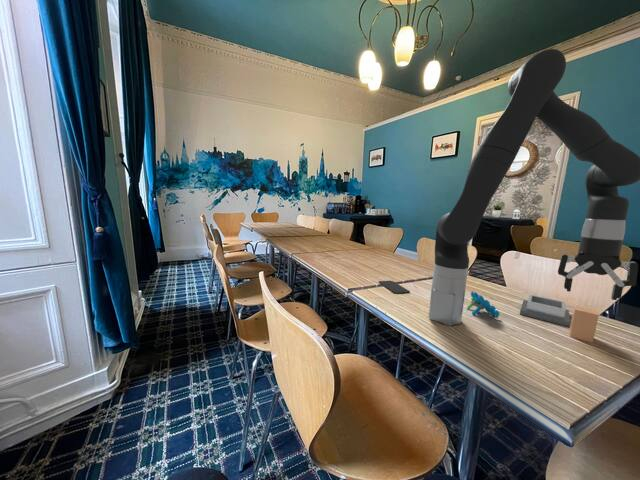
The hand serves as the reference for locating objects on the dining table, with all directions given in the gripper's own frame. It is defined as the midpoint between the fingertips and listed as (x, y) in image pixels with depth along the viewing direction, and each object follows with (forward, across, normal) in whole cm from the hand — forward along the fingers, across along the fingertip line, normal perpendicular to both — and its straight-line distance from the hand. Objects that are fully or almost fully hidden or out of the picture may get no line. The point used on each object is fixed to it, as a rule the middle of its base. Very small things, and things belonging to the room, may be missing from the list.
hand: (590, 294), depth 69 cm
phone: (+12, -56, -2) cm, 58 cm away
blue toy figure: (+12, -24, -4) cm, 27 cm away
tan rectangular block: (+12, 0, 0) cm, 12 cm away
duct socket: (+12, -8, +12) cm, 19 cm away
